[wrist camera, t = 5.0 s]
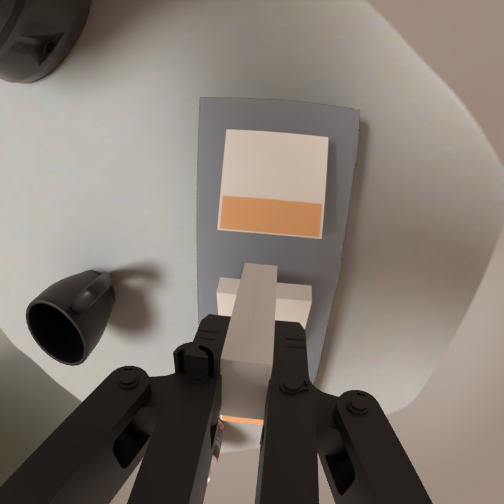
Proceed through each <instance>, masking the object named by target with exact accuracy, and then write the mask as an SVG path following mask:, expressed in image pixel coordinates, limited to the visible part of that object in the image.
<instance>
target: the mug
mask: <svg viewBox="0 0 504 504" xmlns="http://www.w3.org/2000/svg"><path fill="white" fill-rule="evenodd" d="M112 281H113V279H112V277H111V275H110V274H109V273H107V272H103V273H102V274H100V273H98V272H95V271H85V272H82V273H79V274H76V275H73V276H70V277H67V278H65V279H62V280H60V281H58V282H56V283H54V284H53V285H51V286H49V287H48V288H47V289H46V290H45V291H43V292H42V293H41V294H40V295H39V296H38V297H36V298H35V299H34V300H33V301H32V302H31V303H30V304H29V306H28V308H27V310H26V321H27V325H28V328H29V330H30V333H31V335H32V336H33V338H34V340H35V341H36V343H37V344H38V345H39V346H40V347H41V349H42V350H43V351H45V352H46V353H47V354H48V355H49V356H50V357H52V358H53V359H55V360H57V361H58V362H60V363H63V364H66V365H71V366H74V365H79V364H81V363H83V362H84V361H85V360H86V359H87V357H88V356H89V355H90V353H91V352H92V351H93V349H94V348H95V346H96V345H97V344H98V342H99V340H100V338H101V337H102V335H103V332H104V330H105V328H106V325H107V323H108V320H109V317H110V314H111V311H112V307H113V304H114V301H115V293H114V290H113V287H112V285H111V284H112Z"/></svg>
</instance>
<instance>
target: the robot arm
mask: <svg viewBox="0 0 504 504" xmlns="http://www.w3.org/2000/svg"><path fill="white" fill-rule="evenodd" d="M89 5H90V0H0V79H2V80H4V81H7V82H13V83H27V82H33V81H36V80H38V79H40V78H42V77H44V76H45V75H47V74H48V73H50V72H51V71H52V70H53V69H54V68H56V67H57V66H58V65H59V64H60V63H61V62H62V60H63V59H64V58H65V57H66V56H67V54H68V53H69V52H70V50H71V49H72V47H73V46H74V44H75V43H76V41H77V39H78V37H79V35H80V33H81V31H82V29H83V27H84V24H85V21H86V18H87V15H88V11H89ZM276 288H277V266H274V265H264V264H253V263H245V264H244V268H243V272H242V276H241V280H240V284H239V288H238V292H237V296H236V299H235V303H234V307H233V311H232V315H231V316H222V315H214V314H208V315H207V316H206V317H205V318H204V319H202V320H201V322H200V325H199V327H198V331H197V333H196V335H195V338H194V340H193V342H189V343H185V344H183V345H181V346H179V347H177V348H176V350H175V351H174V352H173V355H174V364H175V373H173V374H171V375H167V376H157V377H149V376H148V374H147V373H146V371H144V370H143V369H141V368H139V367H135V366H124V367H121V368H117V369H116V370H115V371H113V372H112V373H111V374H110V375H109V376H108V377H107V378H106V379H105V380H104V381H103V382H102V383H101V384H100V385H99V386H98V387H97V388H96V389H95V390H94V391H93V392H92V393H91V394H90V395H89V396H88V397H87V398H86V399H85V400H84V401H83V402H82V403H81V404H80V405H79V406H78V407H77V408H76V410H74V411H73V412H72V413H71V414H70V415H69V416H68V418H66V419H65V421H64V422H62V423H61V425H60V426H59V427H58V428H57V429H56V430H55V431H54V432H53V433H52V434H51V435H50V436H49V437H48V438H47V439H46V440H45V441H44V442H43V443H42V444H41V445H40V446H39V447H38V448H37V449H36V451H34V452H33V453H32V454H31V455H30V457H29V458H28V459H27V460H26V461H25V462H24V463H23V464H22V465H21V466H20V467H19V468H18V469H17V470H16V471H15V472H14V473H13V475H11V476H10V478H8V480H7V481H6V482H5V483H4V484H3V485H2V486H1V487H0V504H109V503H110V502H111V500H112V499H113V498H114V496H115V495H116V494H117V492H118V491H119V490H120V488H121V487H122V486H123V484H124V483H125V482H126V480H127V479H128V477H129V476H130V475H131V473H132V472H133V471H134V469H135V468H136V467H137V465H138V464H139V462H140V461H141V460H142V458H143V457H144V458H143V460H142V463H141V466H140V469H139V472H138V474H137V477H136V480H135V483H134V486H133V488H132V491H131V494H130V497H129V500H128V503H127V504H203V500H204V495H205V491H206V486H207V481H208V476H209V471H210V466H211V462H212V457H213V452H214V447H215V442H216V437H217V432H218V418H219V414H220V415H224V416H232V417H240V418H249V419H259V420H264V421H263V429H262V434H261V440H260V444H261V446H260V457H259V468H258V477H257V487H256V496H255V504H319V489H318V459H317V453H318V455H319V458H320V461H321V464H322V466H323V469H324V472H325V475H326V478H327V481H328V483H329V486H330V489H331V492H332V495H333V498H334V501H335V503H336V504H433V503H432V501H431V499H430V498H429V496H428V494H427V492H426V490H425V488H424V486H423V484H422V482H421V480H420V478H419V476H418V475H417V473H416V471H415V469H414V467H413V465H412V463H411V461H410V460H409V458H408V456H407V454H406V453H405V450H404V449H403V447H402V445H401V443H400V441H399V439H398V438H397V436H396V434H395V432H394V430H393V429H392V427H391V425H390V423H389V421H388V419H387V418H386V416H385V414H384V412H383V410H382V409H381V407H380V405H379V403H378V401H377V400H376V399H375V398H374V397H373V396H372V395H370V394H369V393H367V392H364V391H360V390H350V391H347V392H344V393H343V394H342V395H341V396H340V397H337V396H333V395H330V394H327V393H324V392H322V391H320V390H318V389H317V388H316V387H315V386H314V385H313V384H312V382H311V381H310V379H309V372H308V358H307V344H306V332H305V329H304V328H303V327H302V325H301V324H300V322H290V321H279V320H275V310H276Z"/></svg>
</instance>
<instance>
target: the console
mask: <svg viewBox="0 0 504 504" xmlns="http://www.w3.org/2000/svg"><path fill="white" fill-rule="evenodd" d="M359 113H360V110H359V109H352V108H346V107H339V106H332V105H324V104H315V103H306V102H296V101H285V100H271V99H254V98H224V97H200V106H199V129H198V160H197V292H198V323H199V325H200V322H201V320H202V319H204V318H205V317H206V316H207V315H208V314H214V315H218V306H217V294H216V292H217V288H218V284H219V280H220V277H223V278H233V279H241V276H242V272H243V268H244V264H245V263H253V264H264V265H274V266H277V283H288V284H300V285H311V286H312V303H311V307H310V311H309V315H308V319H307V323H306V327H305V332H306V344H307V358H308V372H309V379H310V381H311V382H312V384H314V380H315V379H316V377H317V374H318V370H319V366H320V362H321V352H322V348H323V344H324V339H325V335H326V330H327V326H328V321H329V317H330V312H331V307H332V302H333V297H334V292H335V291H336V290H337V285H338V280H339V274H340V269H341V264H342V258H341V255H342V249H343V243H344V237H345V231H346V224H347V218H348V211H349V204H350V196H351V189H352V181H353V173H354V166H356V162H357V153H358V143H359V133H360V129H358V125H359ZM226 129H233V130H253V131H268V132H281V133H293V134H303V135H313V136H322V137H328V157H327V175H326V190H325V204H324V217H323V229H322V239H317V238H306V237H295V236H284V235H272V234H261V233H249V232H237V231H225V230H217V227H218V215H219V203H220V191H221V180H222V169H223V159H224V149H225V139H226ZM219 416H220V414H219Z"/></svg>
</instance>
